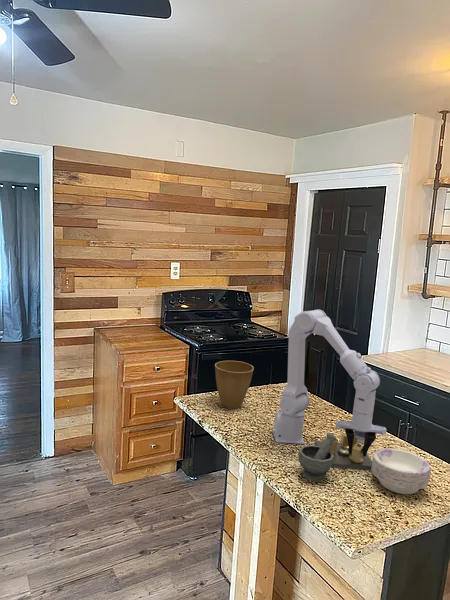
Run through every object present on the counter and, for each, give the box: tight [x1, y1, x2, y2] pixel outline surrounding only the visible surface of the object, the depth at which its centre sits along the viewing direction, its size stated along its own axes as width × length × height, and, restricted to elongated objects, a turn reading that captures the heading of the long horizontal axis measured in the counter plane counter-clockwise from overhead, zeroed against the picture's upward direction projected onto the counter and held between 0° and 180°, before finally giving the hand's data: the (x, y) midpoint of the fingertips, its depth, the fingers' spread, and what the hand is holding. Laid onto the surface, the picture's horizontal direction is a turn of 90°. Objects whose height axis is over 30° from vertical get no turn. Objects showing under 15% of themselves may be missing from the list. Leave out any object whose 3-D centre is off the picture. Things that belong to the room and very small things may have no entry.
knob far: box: [339, 432, 358, 450], centre depth 150 cm, size 4×4×4 cm
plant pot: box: [214, 360, 255, 410], centre depth 180 cm, size 15×15×16 cm
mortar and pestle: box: [298, 432, 337, 483], centre depth 132 cm, size 11×9×12 cm
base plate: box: [314, 440, 372, 471], centre depth 146 cm, size 15×15×2 cm
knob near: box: [349, 443, 364, 463], centre depth 142 cm, size 4×4×4 cm
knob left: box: [321, 436, 339, 454], centre depth 146 cm, size 4×4×4 cm
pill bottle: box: [353, 430, 365, 444], centre depth 160 cm, size 5×5×10 cm
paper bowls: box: [370, 447, 431, 495], centre depth 131 cm, size 15×15×8 cm
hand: (357, 453), depth 142 cm, fingers closed on knob near, 3 cm apart
